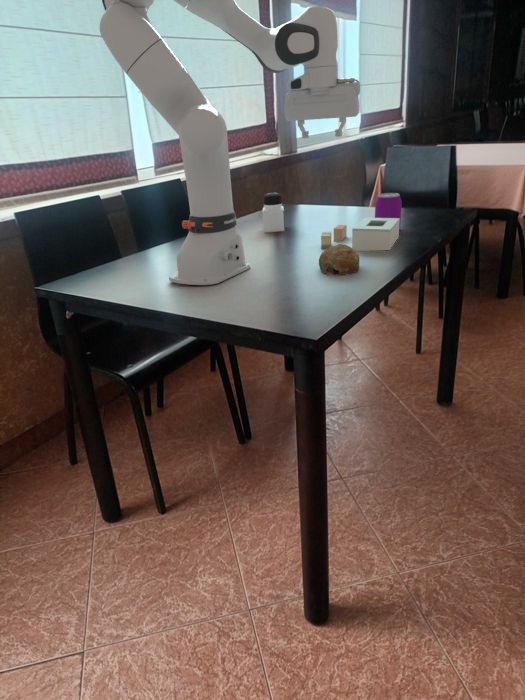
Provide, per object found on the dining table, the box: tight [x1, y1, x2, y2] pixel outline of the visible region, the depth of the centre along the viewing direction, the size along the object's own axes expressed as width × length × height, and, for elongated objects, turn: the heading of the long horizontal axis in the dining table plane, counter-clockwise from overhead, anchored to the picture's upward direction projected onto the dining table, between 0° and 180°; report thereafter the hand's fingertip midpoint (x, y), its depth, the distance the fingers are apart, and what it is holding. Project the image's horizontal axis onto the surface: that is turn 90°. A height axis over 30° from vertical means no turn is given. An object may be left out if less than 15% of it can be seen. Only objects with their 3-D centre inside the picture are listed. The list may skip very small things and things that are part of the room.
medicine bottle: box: [261, 192, 286, 234], centre depth 166 cm, size 7×7×12 cm
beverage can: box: [374, 192, 403, 231], centre depth 149 cm, size 8×8×12 cm
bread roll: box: [318, 243, 360, 276], centre depth 119 cm, size 10×10×8 cm
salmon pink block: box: [333, 224, 347, 242], centre depth 147 cm, size 5×2×4 cm, turn 156°
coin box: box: [351, 217, 400, 252], centre depth 137 cm, size 14×10×7 cm
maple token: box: [320, 231, 332, 250], centre depth 140 cm, size 5×2×4 cm, turn 169°
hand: (321, 137), depth 136 cm, fingers open, 8 cm apart
